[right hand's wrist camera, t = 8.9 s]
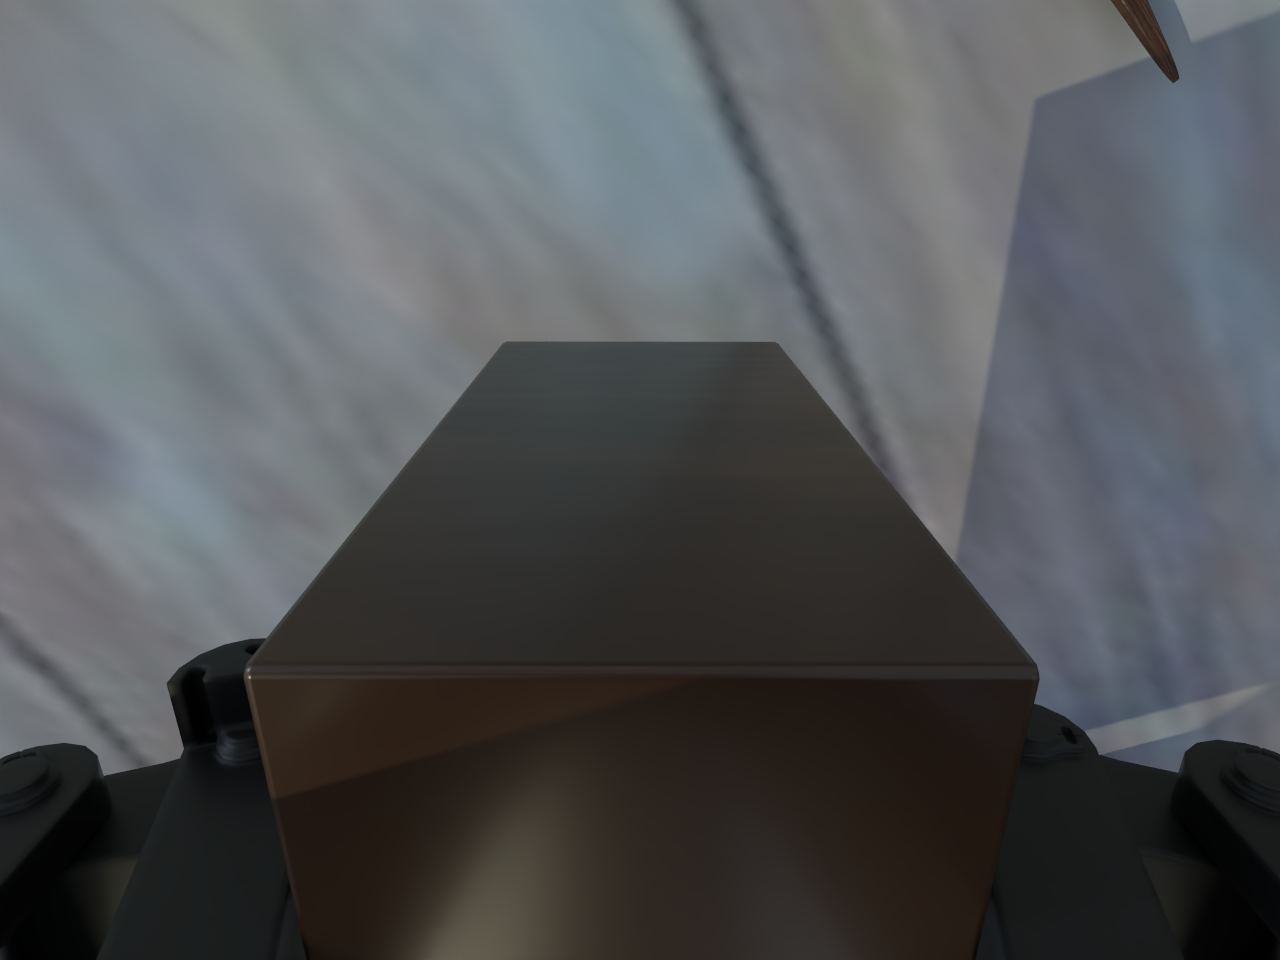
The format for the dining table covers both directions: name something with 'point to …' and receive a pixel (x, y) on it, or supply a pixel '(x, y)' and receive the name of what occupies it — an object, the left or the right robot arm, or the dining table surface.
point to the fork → (1148, 33)
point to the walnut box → (641, 685)
